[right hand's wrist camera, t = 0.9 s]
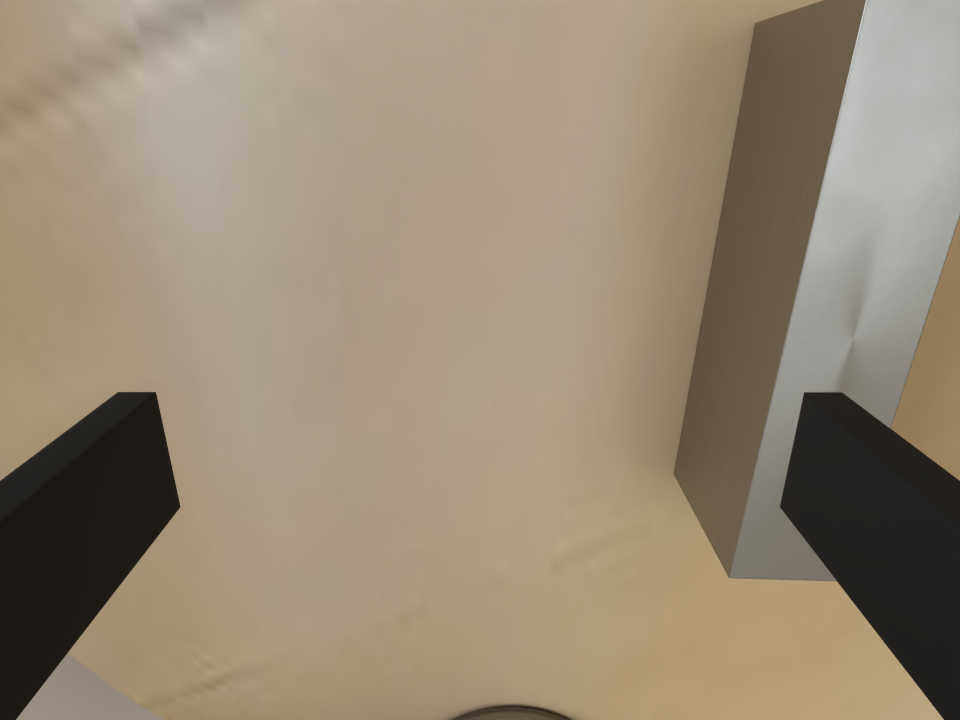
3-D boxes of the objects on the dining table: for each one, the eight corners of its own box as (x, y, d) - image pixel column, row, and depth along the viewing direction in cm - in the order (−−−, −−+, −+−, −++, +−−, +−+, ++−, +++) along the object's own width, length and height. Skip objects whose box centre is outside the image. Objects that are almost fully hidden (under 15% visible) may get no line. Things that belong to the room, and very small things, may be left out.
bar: (761, 477, 38) (841, 581, 30) (673, 474, 38) (728, 578, 29) (871, 26, 29) (1033, -9, 20) (755, 22, 29) (870, -16, 20)
